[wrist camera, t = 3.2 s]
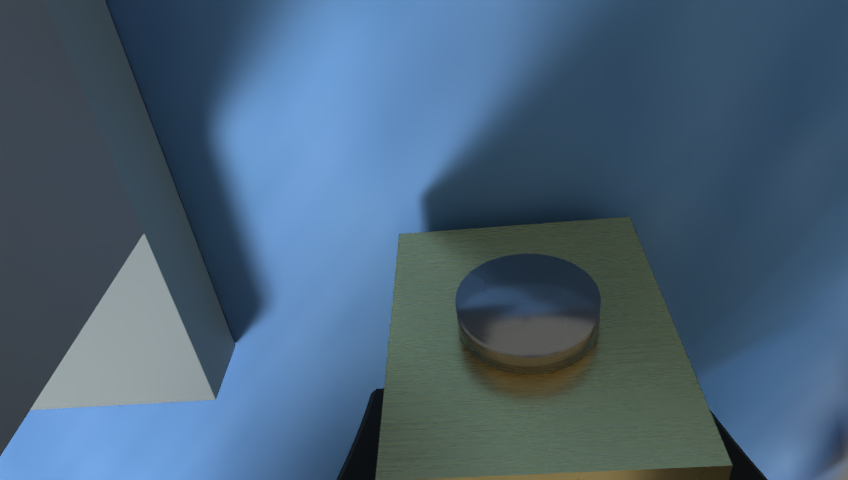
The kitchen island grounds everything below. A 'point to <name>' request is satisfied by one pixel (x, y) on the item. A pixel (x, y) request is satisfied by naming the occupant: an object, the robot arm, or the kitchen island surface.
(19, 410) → the long grey base plate
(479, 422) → the block
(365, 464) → the robot arm
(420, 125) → the kitchen island surface
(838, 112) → the kitchen island surface
